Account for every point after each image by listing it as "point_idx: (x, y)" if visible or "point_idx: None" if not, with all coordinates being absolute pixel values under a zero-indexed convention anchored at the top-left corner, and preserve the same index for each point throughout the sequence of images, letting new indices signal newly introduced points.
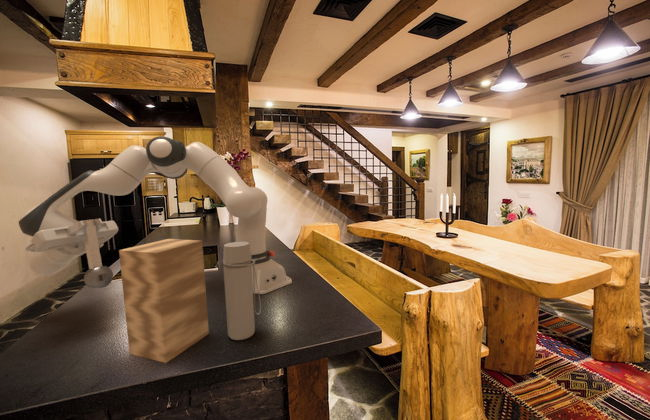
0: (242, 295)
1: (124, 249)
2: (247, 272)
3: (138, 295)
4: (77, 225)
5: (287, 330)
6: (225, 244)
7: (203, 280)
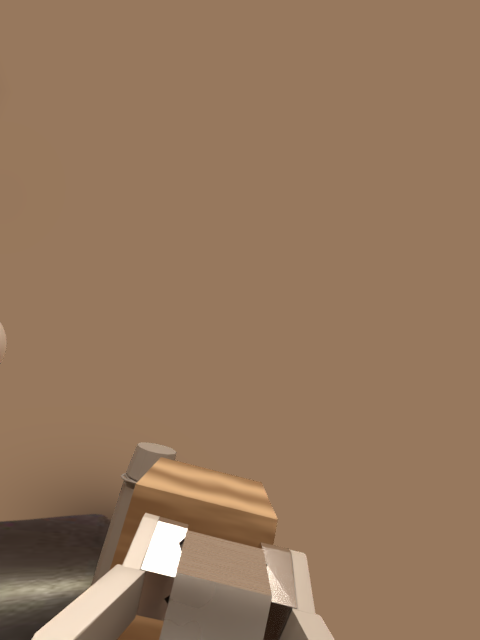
0: None
1: (267, 514)
2: None
3: None
4: (310, 630)
5: None
6: (159, 453)
7: None
